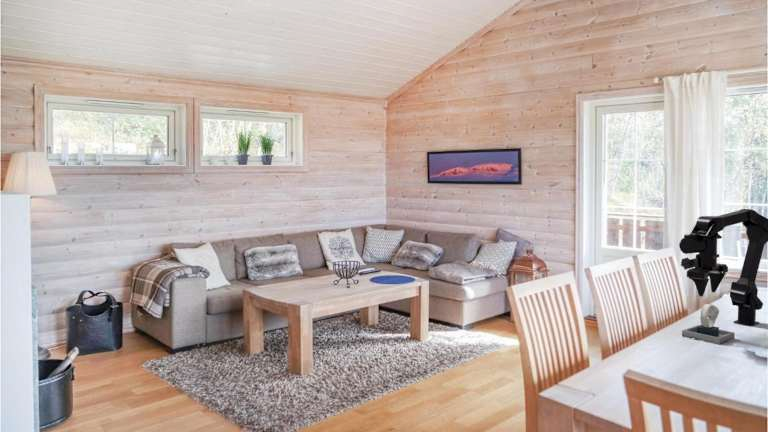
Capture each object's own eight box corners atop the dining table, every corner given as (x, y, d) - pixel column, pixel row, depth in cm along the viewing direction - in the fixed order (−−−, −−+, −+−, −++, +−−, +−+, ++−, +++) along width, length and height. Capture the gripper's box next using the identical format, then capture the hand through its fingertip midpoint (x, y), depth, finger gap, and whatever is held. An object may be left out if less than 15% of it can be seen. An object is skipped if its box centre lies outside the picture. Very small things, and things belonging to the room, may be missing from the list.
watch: (720, 335, 209) (721, 303, 208) (711, 339, 203) (712, 307, 202) (703, 331, 213) (704, 301, 212) (694, 336, 208) (694, 305, 207)
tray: (697, 330, 216) (697, 325, 216) (734, 338, 206) (734, 332, 206) (681, 336, 210) (682, 330, 210) (719, 344, 200) (719, 338, 200)
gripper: (698, 246, 228) (697, 287, 229) (672, 252, 217) (671, 294, 219) (729, 249, 219) (728, 291, 221) (703, 255, 208) (703, 299, 210)
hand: (707, 294), depth 218 cm, fingers open, 9 cm apart
